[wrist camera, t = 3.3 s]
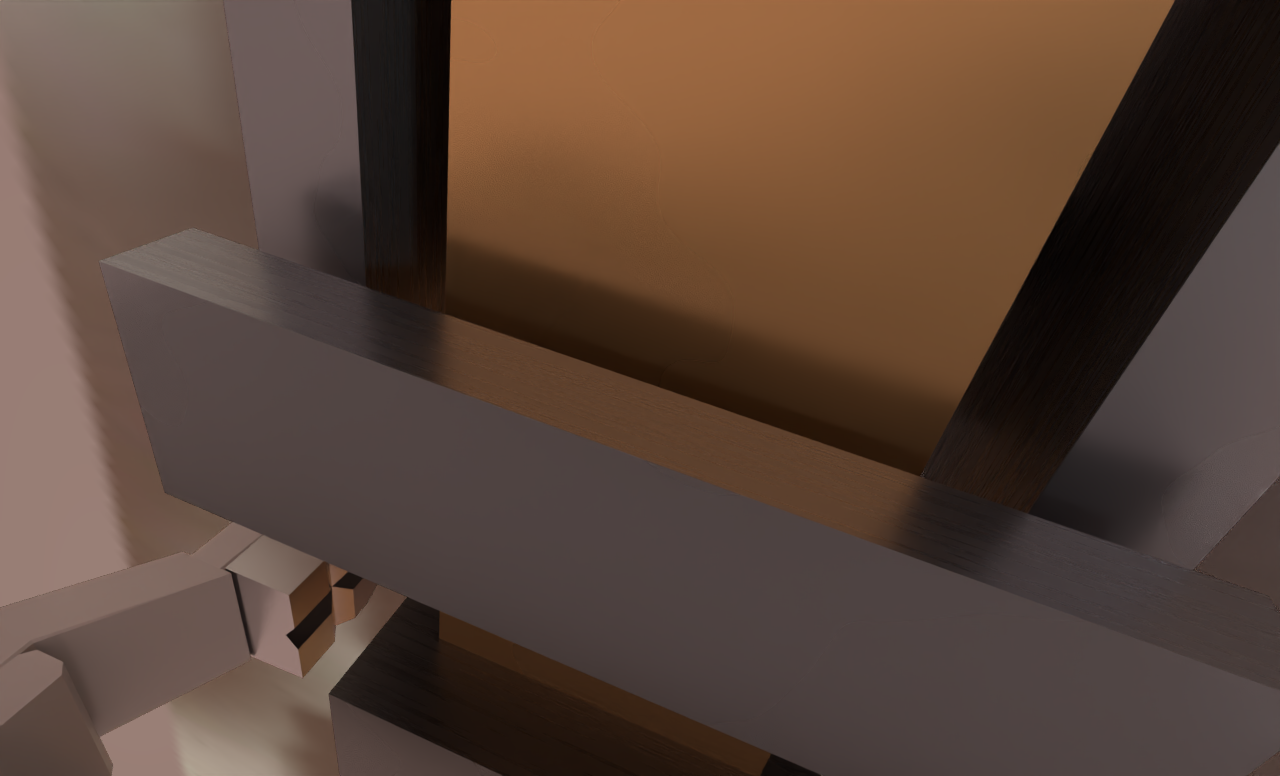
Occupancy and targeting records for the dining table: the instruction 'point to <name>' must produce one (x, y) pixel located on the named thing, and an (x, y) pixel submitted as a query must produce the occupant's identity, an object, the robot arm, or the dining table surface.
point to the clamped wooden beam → (732, 274)
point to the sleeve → (761, 436)
